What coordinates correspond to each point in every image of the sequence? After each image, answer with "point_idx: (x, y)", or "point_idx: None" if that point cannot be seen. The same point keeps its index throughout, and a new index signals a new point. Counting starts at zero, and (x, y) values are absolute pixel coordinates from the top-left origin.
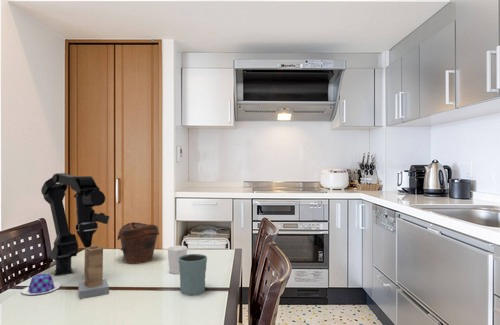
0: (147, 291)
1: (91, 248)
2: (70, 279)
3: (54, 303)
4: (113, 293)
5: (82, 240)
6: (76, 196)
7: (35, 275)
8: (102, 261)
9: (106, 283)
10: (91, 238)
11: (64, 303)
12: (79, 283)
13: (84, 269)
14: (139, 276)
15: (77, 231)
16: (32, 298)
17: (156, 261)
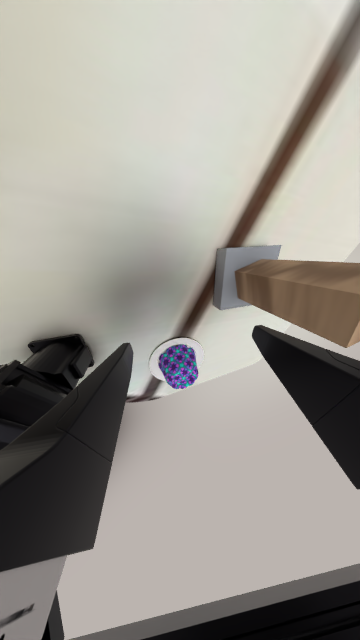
0: (321, 131)
1: None
2: (135, 328)
3: (247, 329)
4: (271, 235)
5: (123, 402)
6: None
7: (177, 388)
8: (332, 263)
9: (259, 249)
10: (341, 359)
11: (256, 317)
12: (223, 308)
13: (265, 310)
14: (184, 93)
15: (91, 539)
16: (211, 359)
17: None
